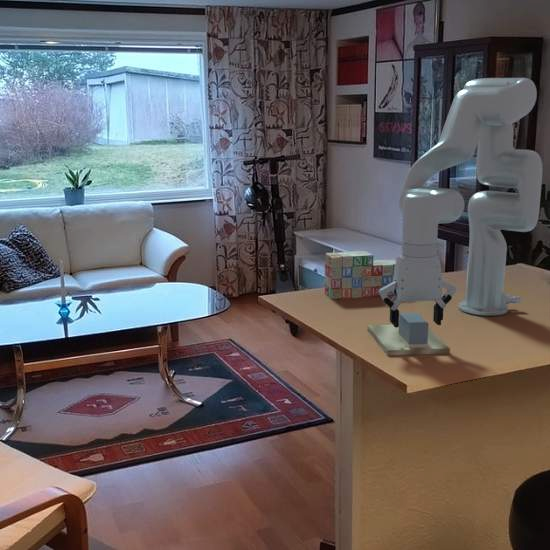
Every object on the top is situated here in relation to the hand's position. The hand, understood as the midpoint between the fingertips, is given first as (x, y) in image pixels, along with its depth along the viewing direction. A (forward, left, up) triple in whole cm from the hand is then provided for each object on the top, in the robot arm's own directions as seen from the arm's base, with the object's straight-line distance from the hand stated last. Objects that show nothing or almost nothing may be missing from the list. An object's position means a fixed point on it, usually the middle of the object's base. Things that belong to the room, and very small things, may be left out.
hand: (416, 324), depth 158 cm
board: (+1, -4, -5) cm, 7 cm away
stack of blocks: (+1, -46, -6) cm, 47 cm away
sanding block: (0, 0, -4) cm, 4 cm away
